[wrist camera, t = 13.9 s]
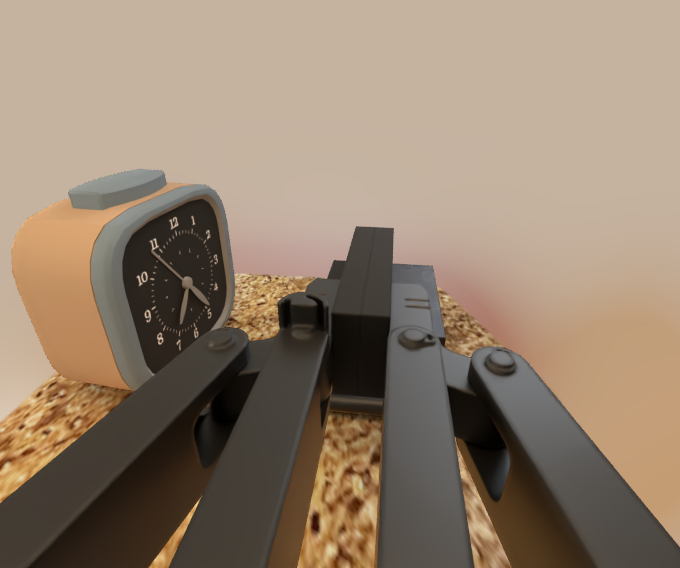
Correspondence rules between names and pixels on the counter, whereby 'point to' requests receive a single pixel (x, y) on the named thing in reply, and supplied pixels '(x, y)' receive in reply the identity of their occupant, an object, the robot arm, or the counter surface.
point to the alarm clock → (125, 275)
